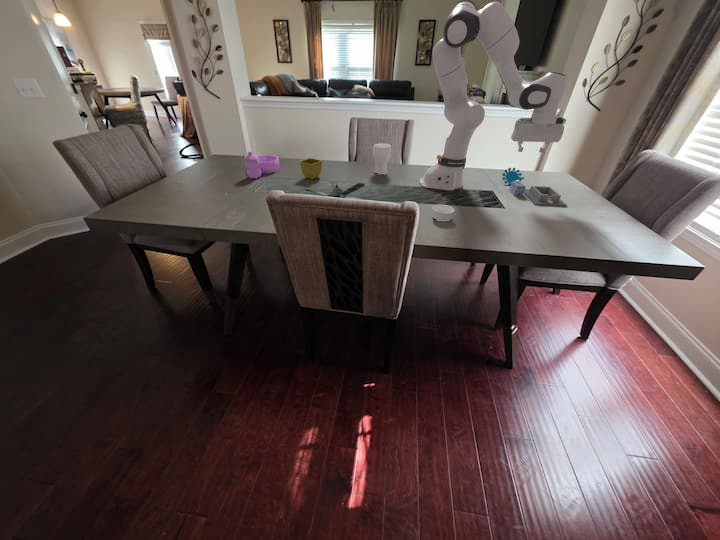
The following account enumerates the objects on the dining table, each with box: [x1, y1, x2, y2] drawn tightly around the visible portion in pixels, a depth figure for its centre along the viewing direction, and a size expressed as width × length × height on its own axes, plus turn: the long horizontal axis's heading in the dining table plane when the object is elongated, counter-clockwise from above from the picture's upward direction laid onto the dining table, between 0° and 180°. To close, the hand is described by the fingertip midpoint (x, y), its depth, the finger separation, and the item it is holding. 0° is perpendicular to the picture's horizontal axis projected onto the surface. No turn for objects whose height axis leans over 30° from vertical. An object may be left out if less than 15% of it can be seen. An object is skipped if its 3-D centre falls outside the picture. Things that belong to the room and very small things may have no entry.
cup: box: [372, 142, 393, 175], centre depth 159 cm, size 11×11×15 cm
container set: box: [244, 151, 281, 179], centre depth 158 cm, size 25×15×13 cm, turn 168°
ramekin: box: [431, 204, 455, 221], centre depth 117 cm, size 9×9×4 cm
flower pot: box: [299, 157, 323, 180], centre depth 153 cm, size 9×9×9 cm
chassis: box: [523, 185, 568, 208], centre depth 135 cm, size 14×18×4 cm
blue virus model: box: [501, 167, 525, 186], centre depth 152 cm, size 11×6×10 cm
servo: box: [508, 180, 527, 197], centre depth 139 cm, size 4×10×6 cm, turn 174°
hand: (530, 151), depth 129 cm, fingers open, 8 cm apart
